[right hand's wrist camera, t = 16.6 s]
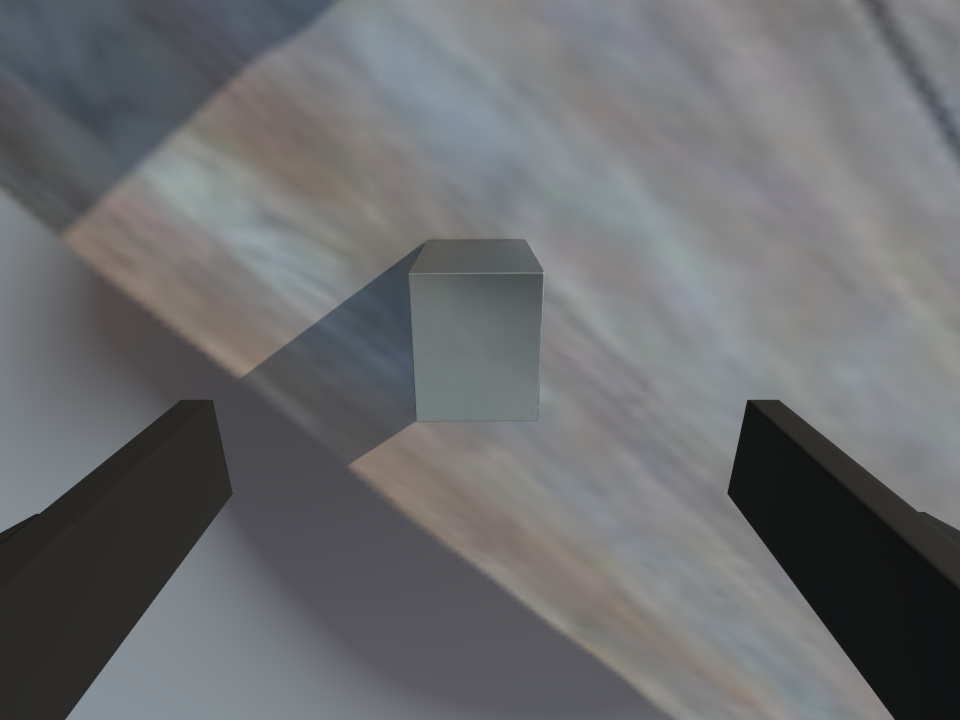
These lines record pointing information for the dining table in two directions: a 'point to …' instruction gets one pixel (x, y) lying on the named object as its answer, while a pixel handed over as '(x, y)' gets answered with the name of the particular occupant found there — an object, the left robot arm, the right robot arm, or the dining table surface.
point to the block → (476, 330)
